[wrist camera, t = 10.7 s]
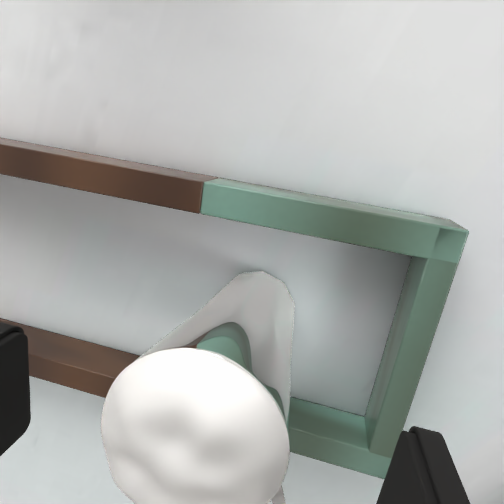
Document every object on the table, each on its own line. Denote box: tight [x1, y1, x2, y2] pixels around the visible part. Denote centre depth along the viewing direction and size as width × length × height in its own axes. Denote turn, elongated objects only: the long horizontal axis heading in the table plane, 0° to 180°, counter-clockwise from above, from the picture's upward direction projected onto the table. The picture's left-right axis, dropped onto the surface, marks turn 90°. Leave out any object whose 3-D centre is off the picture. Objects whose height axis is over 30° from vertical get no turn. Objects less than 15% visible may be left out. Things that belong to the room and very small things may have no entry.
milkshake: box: [101, 271, 295, 504], centre depth 12 cm, size 4×5×10 cm
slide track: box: [0, 138, 469, 479], centre depth 16 cm, size 24×10×2 cm, turn 81°
